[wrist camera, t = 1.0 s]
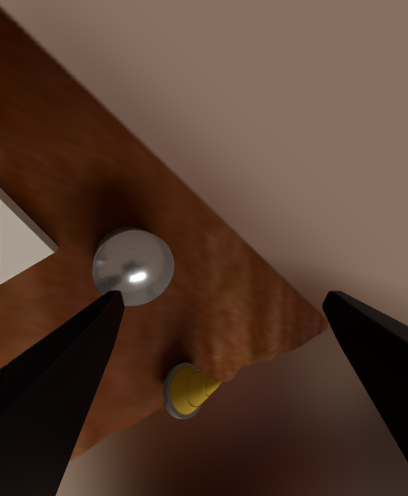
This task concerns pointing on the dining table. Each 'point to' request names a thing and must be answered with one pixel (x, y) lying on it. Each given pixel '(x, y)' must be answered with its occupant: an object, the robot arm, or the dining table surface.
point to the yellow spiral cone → (187, 390)
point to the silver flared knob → (132, 265)
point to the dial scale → (20, 240)
